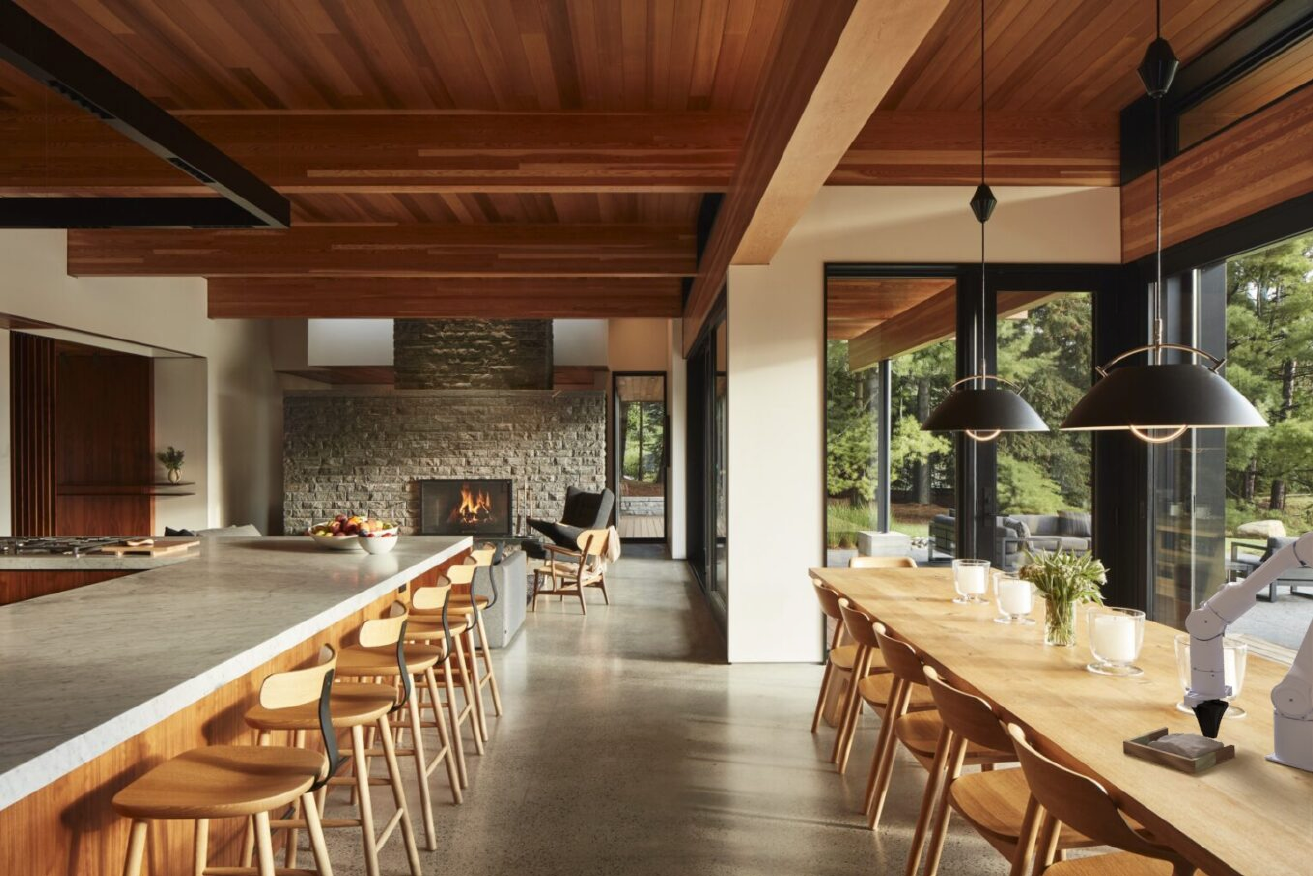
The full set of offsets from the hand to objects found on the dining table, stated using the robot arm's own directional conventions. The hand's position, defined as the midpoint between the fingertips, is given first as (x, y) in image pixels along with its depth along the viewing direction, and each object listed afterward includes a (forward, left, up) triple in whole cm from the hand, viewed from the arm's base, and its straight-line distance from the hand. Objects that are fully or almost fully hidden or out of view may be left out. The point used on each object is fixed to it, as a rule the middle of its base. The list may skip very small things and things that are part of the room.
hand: (1209, 737), depth 166 cm
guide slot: (0, +12, -1) cm, 12 cm away
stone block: (-1, +11, -2) cm, 12 cm away
